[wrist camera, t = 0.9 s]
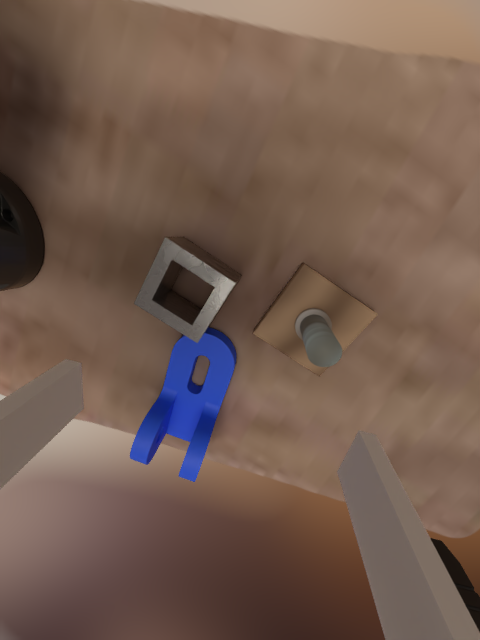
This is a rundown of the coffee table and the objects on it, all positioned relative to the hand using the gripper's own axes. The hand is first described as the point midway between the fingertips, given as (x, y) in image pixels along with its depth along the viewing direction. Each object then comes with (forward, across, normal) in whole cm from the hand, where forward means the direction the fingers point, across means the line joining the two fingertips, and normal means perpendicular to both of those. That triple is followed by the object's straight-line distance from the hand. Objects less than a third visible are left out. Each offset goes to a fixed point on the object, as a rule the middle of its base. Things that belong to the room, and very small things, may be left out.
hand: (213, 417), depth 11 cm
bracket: (+20, -4, -14) cm, 24 cm away
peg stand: (+19, +8, 0) cm, 21 cm away
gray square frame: (+19, -6, +1) cm, 20 cm away
